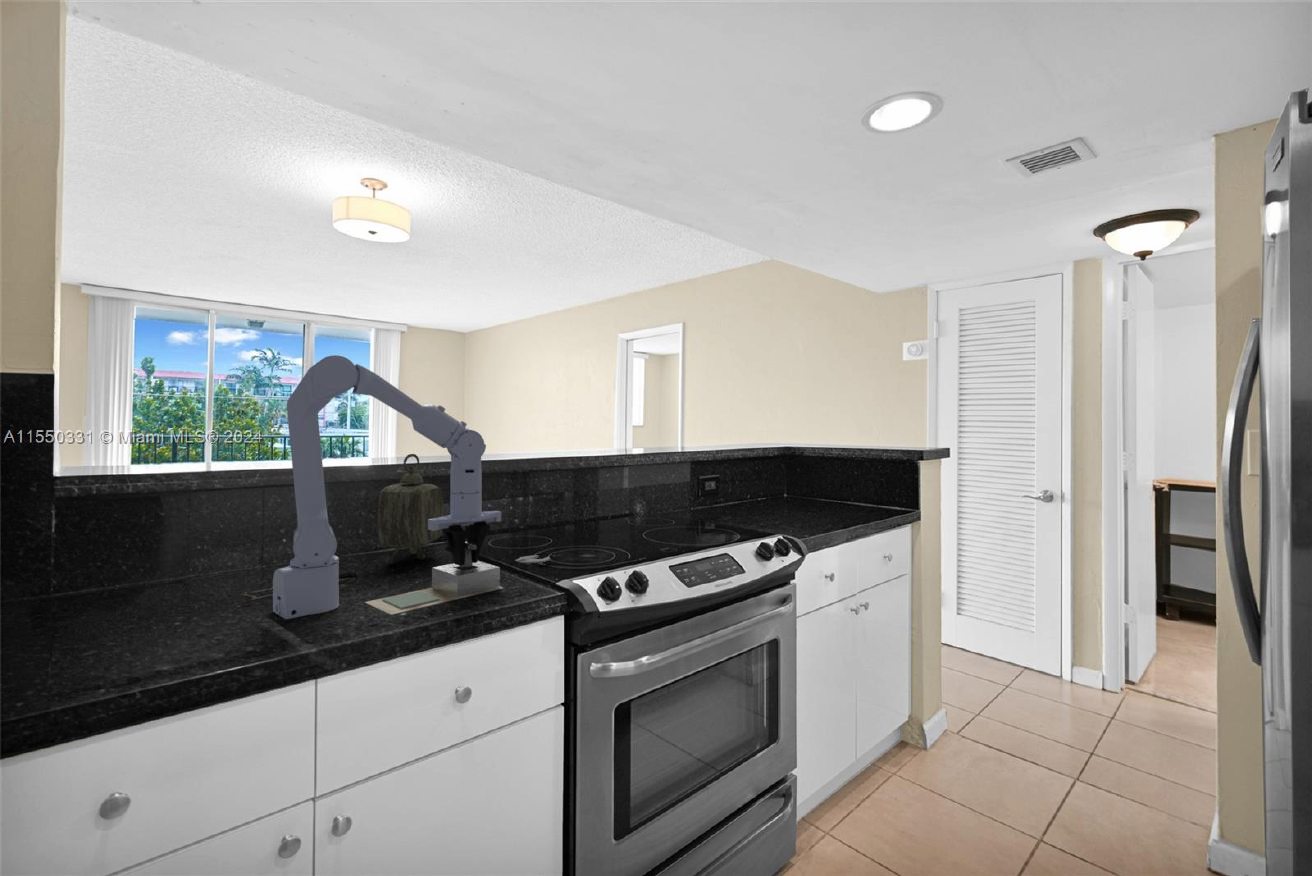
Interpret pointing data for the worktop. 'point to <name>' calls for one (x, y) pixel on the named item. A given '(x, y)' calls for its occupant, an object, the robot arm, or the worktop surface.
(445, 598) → the board
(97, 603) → the worktop surface
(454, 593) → the block
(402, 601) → the mat
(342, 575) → the hacksaw
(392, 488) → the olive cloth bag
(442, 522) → the robot arm
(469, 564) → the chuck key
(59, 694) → the worktop surface
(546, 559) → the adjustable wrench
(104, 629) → the worktop surface
